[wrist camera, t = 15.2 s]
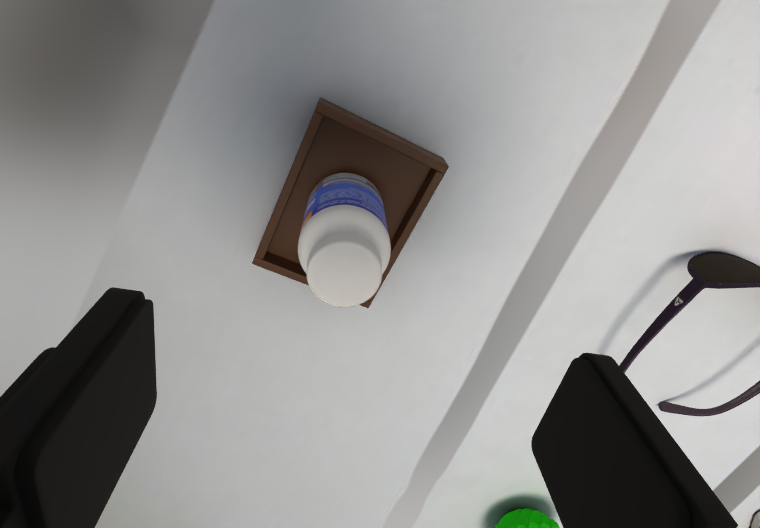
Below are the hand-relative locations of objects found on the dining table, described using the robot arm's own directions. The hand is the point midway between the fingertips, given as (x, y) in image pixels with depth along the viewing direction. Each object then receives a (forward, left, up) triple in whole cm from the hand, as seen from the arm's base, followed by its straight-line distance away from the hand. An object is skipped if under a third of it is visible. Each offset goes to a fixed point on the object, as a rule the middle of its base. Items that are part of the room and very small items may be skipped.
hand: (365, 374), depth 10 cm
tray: (+2, -4, -23) cm, 24 cm away
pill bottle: (+2, -4, -23) cm, 23 cm away
